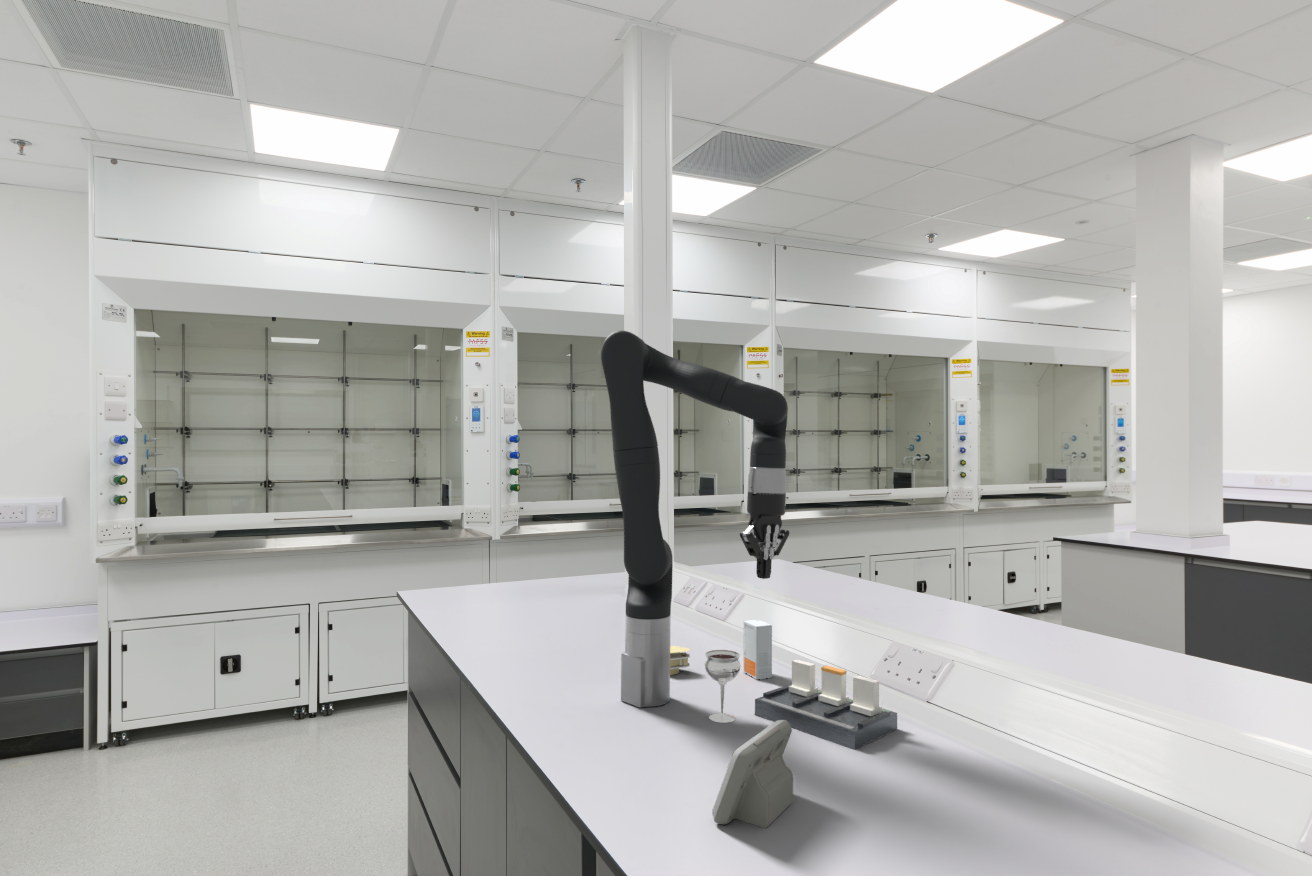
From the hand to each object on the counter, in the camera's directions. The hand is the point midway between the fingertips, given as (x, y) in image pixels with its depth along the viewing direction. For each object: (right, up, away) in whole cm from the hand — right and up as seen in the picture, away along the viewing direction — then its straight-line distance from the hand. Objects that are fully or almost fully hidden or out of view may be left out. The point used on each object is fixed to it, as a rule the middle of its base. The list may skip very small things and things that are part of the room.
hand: (763, 577), depth 143 cm
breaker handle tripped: (+13, -23, -5) cm, 26 cm away
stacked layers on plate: (-17, -27, +23) cm, 40 cm away
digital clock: (-7, -25, -41) cm, 48 cm away
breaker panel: (+10, -26, -7) cm, 29 cm away
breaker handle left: (+8, -23, 0) cm, 24 cm away
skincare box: (+2, -27, +21) cm, 34 cm away
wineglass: (-9, -26, -6) cm, 28 cm away
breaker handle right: (+17, -22, -11) cm, 30 cm away
